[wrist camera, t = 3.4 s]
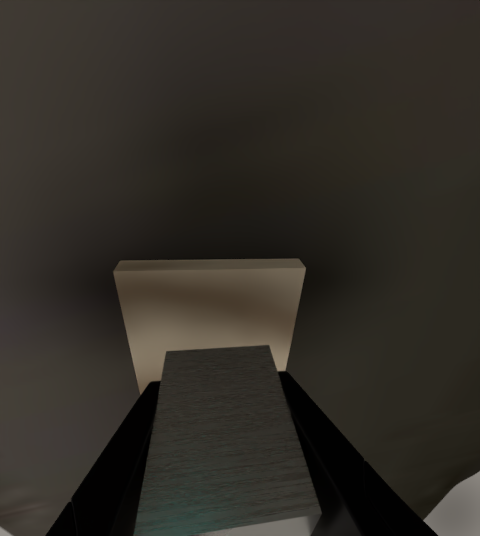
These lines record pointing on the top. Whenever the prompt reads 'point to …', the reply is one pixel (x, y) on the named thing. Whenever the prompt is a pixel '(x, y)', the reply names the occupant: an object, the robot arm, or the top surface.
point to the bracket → (206, 307)
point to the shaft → (224, 451)
